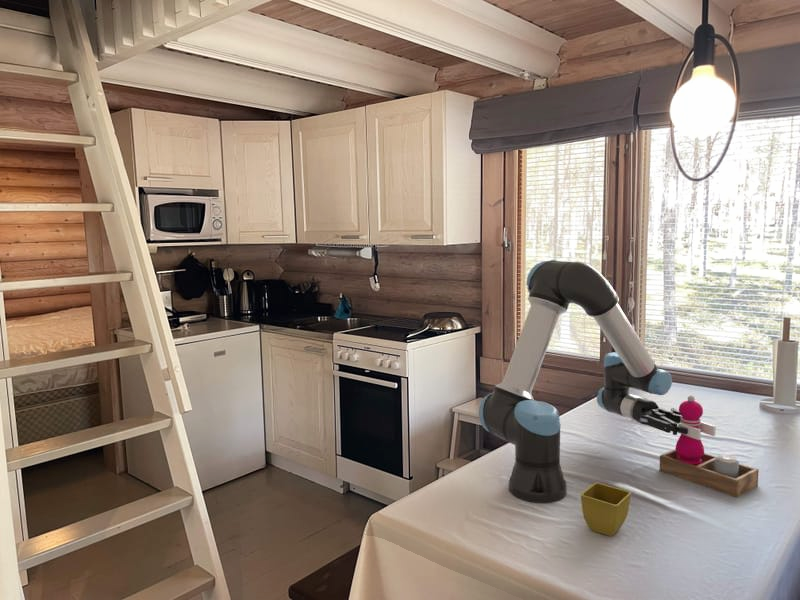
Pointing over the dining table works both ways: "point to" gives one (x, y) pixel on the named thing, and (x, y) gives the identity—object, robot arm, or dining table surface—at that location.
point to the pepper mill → (688, 446)
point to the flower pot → (605, 508)
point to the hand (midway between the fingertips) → (706, 432)
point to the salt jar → (727, 466)
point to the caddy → (710, 474)
